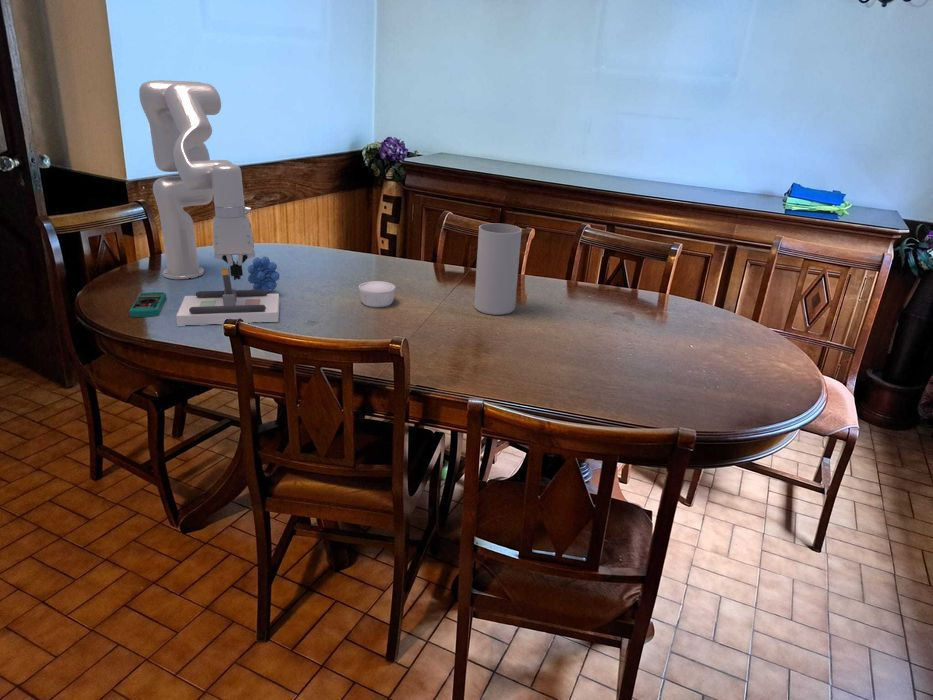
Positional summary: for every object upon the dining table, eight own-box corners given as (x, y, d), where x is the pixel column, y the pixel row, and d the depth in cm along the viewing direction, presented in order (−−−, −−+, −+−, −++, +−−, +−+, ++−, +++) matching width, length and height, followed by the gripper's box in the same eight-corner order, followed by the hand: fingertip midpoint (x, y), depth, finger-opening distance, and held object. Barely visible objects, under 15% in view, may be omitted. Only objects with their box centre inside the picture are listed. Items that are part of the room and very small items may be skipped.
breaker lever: (226, 299, 184) (221, 267, 180) (235, 299, 185) (230, 267, 181) (225, 303, 181) (219, 270, 177) (234, 302, 182) (229, 270, 178)
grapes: (288, 292, 203) (286, 255, 199) (275, 298, 198) (272, 260, 193) (258, 286, 207) (255, 249, 202) (244, 292, 202) (240, 254, 197)
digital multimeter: (129, 319, 178) (127, 309, 177) (140, 300, 191) (138, 291, 190) (158, 318, 180) (157, 308, 179) (167, 300, 193) (166, 290, 192)
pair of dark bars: (196, 296, 187) (195, 290, 187) (267, 294, 192) (267, 288, 191) (189, 314, 174) (188, 308, 174) (265, 312, 179) (265, 305, 178)
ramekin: (365, 294, 206) (365, 279, 203) (399, 298, 204) (399, 282, 202) (353, 306, 195) (353, 289, 193) (389, 310, 194) (389, 293, 192)
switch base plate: (186, 305, 188) (183, 284, 186) (279, 302, 195) (278, 282, 192) (177, 326, 174) (174, 303, 172) (278, 322, 180) (276, 300, 178)
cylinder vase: (468, 311, 196) (473, 229, 186) (481, 299, 207) (486, 221, 197) (507, 318, 193) (514, 235, 183) (519, 305, 204) (526, 226, 193)
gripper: (260, 209, 178) (265, 273, 186) (202, 209, 175) (210, 275, 182) (259, 214, 172) (265, 281, 179) (198, 215, 168) (207, 283, 175)
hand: (237, 278), depth 180 cm, fingers closed
